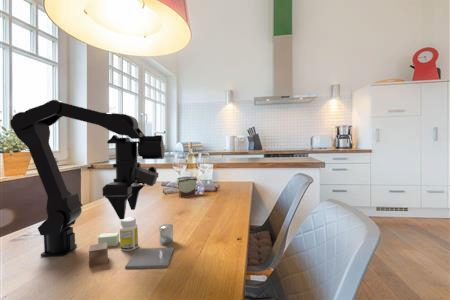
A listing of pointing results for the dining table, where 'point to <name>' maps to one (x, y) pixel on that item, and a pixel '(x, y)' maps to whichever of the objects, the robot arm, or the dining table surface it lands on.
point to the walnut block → (98, 254)
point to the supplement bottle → (128, 234)
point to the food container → (186, 186)
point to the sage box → (109, 239)
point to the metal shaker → (166, 234)
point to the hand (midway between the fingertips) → (127, 214)
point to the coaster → (150, 258)
